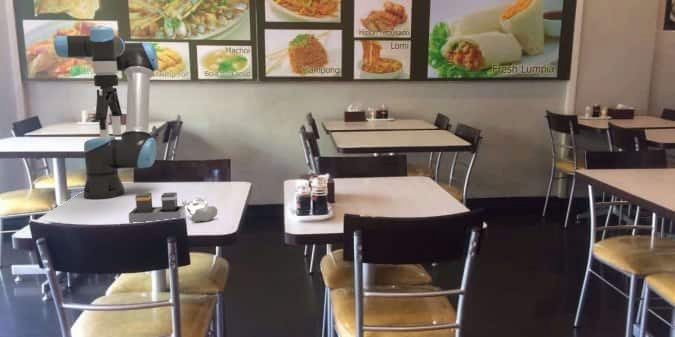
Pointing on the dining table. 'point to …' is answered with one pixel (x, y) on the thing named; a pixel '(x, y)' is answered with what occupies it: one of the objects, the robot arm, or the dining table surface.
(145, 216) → the grey holder
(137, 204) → the plug
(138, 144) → the robot arm
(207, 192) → the dining table surface
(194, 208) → the figurine
